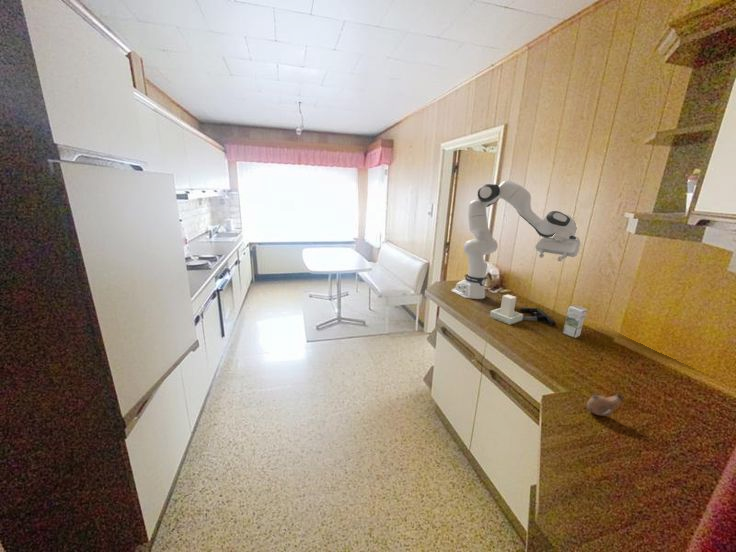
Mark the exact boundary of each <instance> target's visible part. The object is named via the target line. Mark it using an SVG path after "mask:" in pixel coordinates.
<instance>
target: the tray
mask: <svg viewBox="0 0 736 552" xmlns="http://www.w3.org/2000/svg"><path fill="white" fill-rule="evenodd" d="M500 308H501V307H499V308H496V309H492V310H490V311H489V318H491V317H492V319H493V320H496V319H497V320H496V321H499V322H501V321H502V323H503V324H506V323H507V324H506V325H508V324H509V326H511V325H514V324H516V323H518V322H521V321H523V320H522V318H523V316H524V313H522V312H521V313H520V312H518V311H515V310H514V314H513V317H511V318H509V317H507V316H504V315H501V314H500Z"/></svg>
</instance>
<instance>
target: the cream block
mask: <svg viewBox="0 0 736 552" xmlns="http://www.w3.org/2000/svg"><path fill="white" fill-rule="evenodd" d="M500 302H501V303H500V307H499V308H500V314H501V315H504V316H507V317H509V318H511V317H513V314H514V311H515V308H516V303H517V296H514V295H512V294H509V293H506V294H504V295H502V298H501V301H500Z"/></svg>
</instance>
